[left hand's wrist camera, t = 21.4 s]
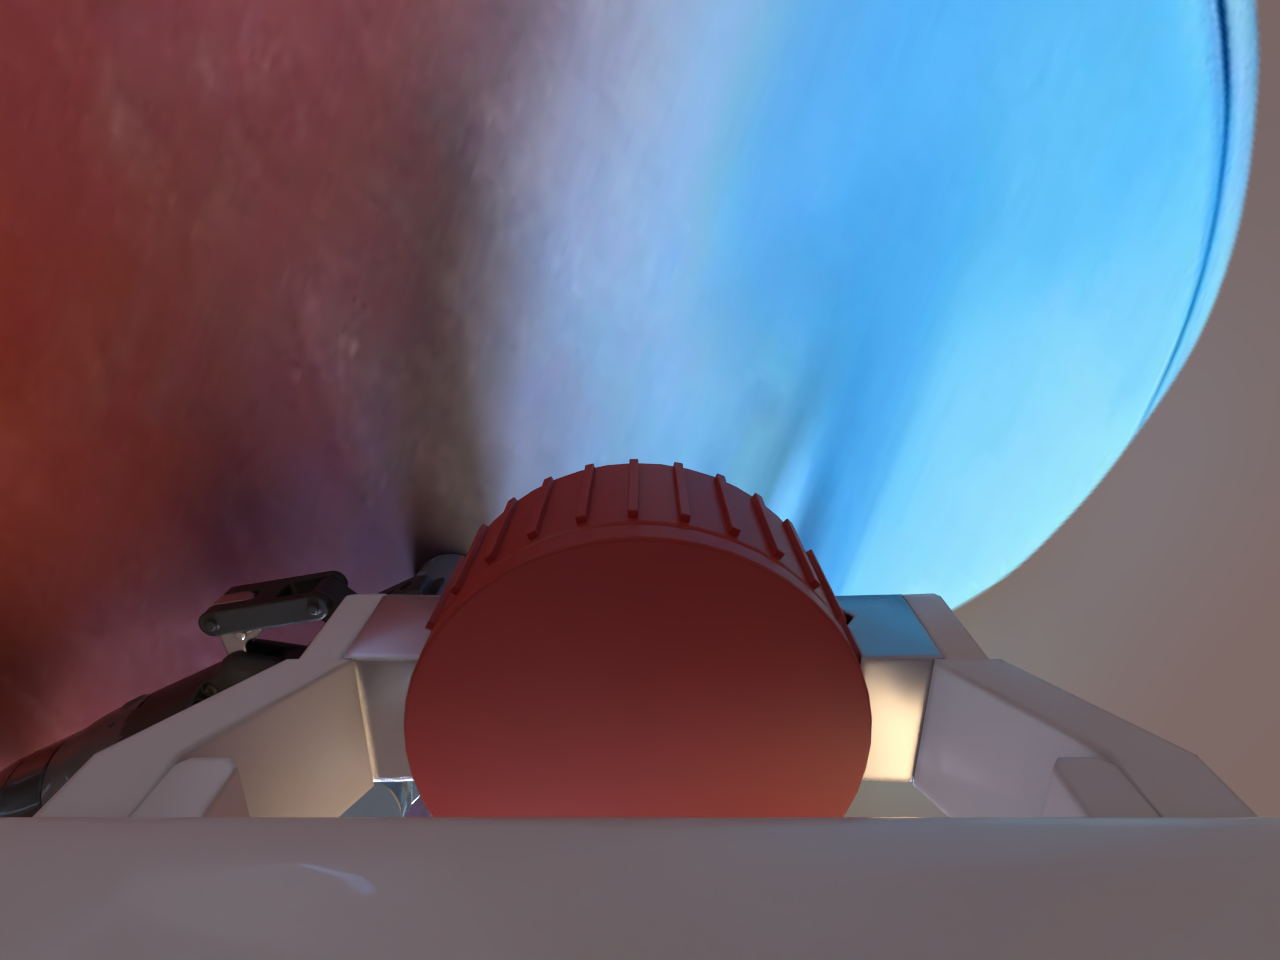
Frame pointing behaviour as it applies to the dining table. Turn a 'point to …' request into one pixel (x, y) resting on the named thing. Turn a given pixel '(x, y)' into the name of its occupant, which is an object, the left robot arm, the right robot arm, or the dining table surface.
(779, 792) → the lid
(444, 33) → the dining table surface
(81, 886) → the left robot arm
